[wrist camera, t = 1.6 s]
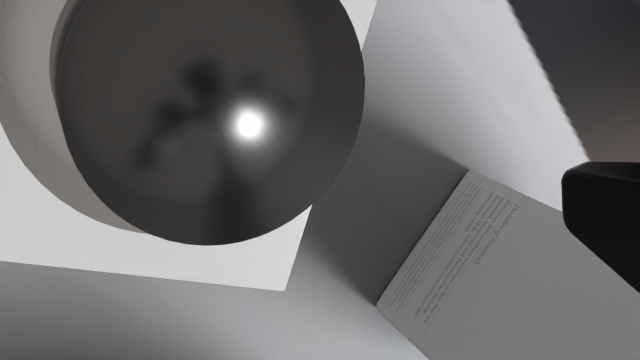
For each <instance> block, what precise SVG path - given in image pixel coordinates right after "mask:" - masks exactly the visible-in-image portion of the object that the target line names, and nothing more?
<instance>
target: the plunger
mask: <svg viewBox="0 0 640 360" xmlns="http://www.w3.org/2000/svg"><path fill="white" fill-rule="evenodd" d="M364 90H365V77H364V65H363V59H362V54H361V49H360V44H359V41H358V38H357V35H356V32H355V29H354V26H353V24H352V22H351V20H350V18H349V16H348V14H347V11H346V9H345V8H344V6H343V5H342V3H341V1H340V0H0V123H1V125H2V127H3V130H4V132H5V134H6V136H7V138H8V140H9V142H10V144H11V146H12V147H13V149H14V150H15V152H16V153H17V155H18V156H19V158H20V159H21V161H22V162H23V164H24V165H25V166H26V167H27V169H28V170H29V171H30V172H31V173H32V174H33V175H34V177H35V178H36V179H37V180H38V181H39V182H40V183H41V184H42V185H43V186H44V187H45V188H46V189H48V190H49V191H50V192H51V193H52V194H53V195H55V196H56V197H57V198H58V199H59V200H61V201H62V202H64V203H65V204H67V205H69V206H70V207H72V208H73V209H75V210H76V211H78V212H80V213H82V214H84V215H86V216H88V217H90V218H92V219H94V220H96V221H98V222H101V223H104V224H107V225H110V226H113V227H116V228H118V229H123V230H128V231H132V232H137V233H144V234H150V235H153V236H156V237H159V238H162V239H165V240H168V241H172V242H177V243H182V244H187V245H201V246H212V245H226V244H232V243H238V242H243V241H246V240H250V239H253V238H256V237H260V236H262V235H264V234H267V233H269V232H271V231H273V230H276V229H278V228H279V227H281V226H283V225H285V224H286V223H288V222H290V221H291V220H293V219H294V218H296V217H297V216H298V215H300V214H301V213H302V212H304V211H305V210H306V209H308V208H309V207H310V206H311V205H312V204H313V203H314V202H315V201H316V200H317V199H318V198H319V197H320V196H321V195H322V194H323V193H324V191H325V190H326V189H327V188H328V187H329V186H330V184H331V183H332V182H333V180H334V179H335V177H336V176H337V174H338V173H339V171H340V170H341V168H342V167H343V165H344V163H345V161H346V159H347V157H348V155H349V153H350V151H351V149H352V146H353V144H354V141H355V138H356V136H357V132H358V129H359V125H360V121H361V117H362V111H363V104H364Z"/></svg>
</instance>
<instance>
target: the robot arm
mask: <svg viewBox="0 0 640 360" xmlns="http://www.w3.org/2000/svg"><path fill="white" fill-rule="evenodd" d="M561 185H562V211H563V220H564V224H565V226H566V227H567V229H568V230H569V232H570V233H571V234H572V235H573V236H575V237H576V238H577V239H578V240H579V241H580V242H581V243H583V244H584V245H585V246H586V247H587V248H588V249H589V250H590V251H592V252H593V253H594V254H595V255H596V256H597V257H598V258H600V259H601V260H602V261H603V262H604V263H605V264H606V265H608V266H609V267H610V268H611V269H612V270H613V271H614V272H615V273H617V274H618V275H619V276H620V277H621V278H622V279H623V280H625V281H626V282H627V283H628V284H629V285H630V286H631V287H633V288H634V289H635V290H636V291H637V292H639V293H640V162H639V163H638V162H585V163H582V164H580V165H578V166H575V167H573V168H571V169H569V170H567V171H566V172H565V173H564V174H563V177H562V182H561Z"/></svg>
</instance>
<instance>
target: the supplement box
mask: <svg viewBox="0 0 640 360" xmlns="http://www.w3.org/2000/svg"><path fill="white" fill-rule="evenodd" d="M376 307H377V310H378V311H379V312H380V313H381V314H382V315H383V316H384V317H385V318H386V319H387V320H388V321H389V322H390V323H391V324H392V325H393V326H394V327H395V328H396V329H397V330H399V331H400V332H401V333H402V334H403V335H404V336H405V337H406V338H407V339H408V340H409V341H410V342H411V343H412V344H413V345H414V346H415V347H416V348H417V349H419V350H420V351H421V352H422V353H423V354H424V355H425V356H426V357H427V358H428V359H429V360H640V293H639V292H637V291H636V290H635V289H634V288H633V287H631V286H630V285H629V284H628V283H627V282H626V281H625V280H623V279H622V278H621V277H620V276H619V275H618V274H617V273H615V272H614V271H613V270H612V269H611V268H610V267H609V266H608V265H606V264H605V263H604V262H603V261H602V260H601V259H600V258H598V257H597V256H596V255H595V254H594V253H593V252H592V251H590V250H589V249H588V248H587V247H586V246H585V245H584V244H583V243H581V242H580V241H579V240H578V239H577V238H576V237H575V236H573V235H572V234H571V233H570V232H569V230H568V229H567V227H566V226H565V224H564V220H563V212H561V211H559V210H557V209H554V208H552V207H550V206H548V205H546V204H543V203H541V202H539V201H537V200H534V199H532V198H530V197H528V196H526V195H524V194H521V193H519V192H517V191H515V190H513V189H511V188H509V187H506V186H504V185H502V184H500V183H497V182H495V181H493V180H491V179H488V178H486V177H484V176H482V175H480V174H478V173H476V172H474V171H472V170H470V171H468V172H467V173H466V175H465V176H464V177H463V179H462V180H461V181H460V183H459V184H458V186H457V187H456V189H455V190H454V191H453V193H452V194H451V195H450V197H449V198H448V200H447V201H446V203H445V204H444V206H443V207H442V209H441V210H440V212H439V213H438V214H437V216H436V217H435V218H434V220H433V221H432V223H431V224H430V226H429V227H428V229H427V230H426V232H425V233H424V234H423V236H422V237H421V239H420V240H419V241H418V243H417V244H416V246H415V247H414V249H413V250H412V252H411V253H410V254H409V256H408V258H407V259H406V260H405V262H404V263H403V265H402V266H401V267H400V269H399V270H398V272H397V273H396V275H395V276H394V278H393V279H392V281H391V282H390V283H389V285H388V286H387V288H386V289H385V291H384V292H383V294H382V296H381V297H380V299H379V301H378V302H377V306H376Z"/></svg>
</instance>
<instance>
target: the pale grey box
mask: <svg viewBox="0 0 640 360" xmlns="http://www.w3.org/2000/svg"><path fill="white" fill-rule="evenodd" d="M340 1H341V3H342V5H343V6H344V8H345V9H346V11H347V14H348V16H349V18H350V20H351V22H352V24H353V26H354V29H355V32H356V35H357V38H358V41H359V44H360V49H361V50H362V47H363V44H364V41H365V38H366V35H367V32H368V29H369V25H370V22H371V19H372V16H373V13H374V10H375V7H376V4H377V0H340ZM311 207H312V205H311V206H310V207H309V208H308V209H306V210H305V211H304V212H302V213H301V214H300V215H298V216H297V217H296V218H294V219H293V220H291V221H290V222H288V223H286V224H285V225H283V226H281V227H279V228H278V229H276V230H273V231H271V232H269V233H267V234H264V235H262V236H260V237H256V238H253V239H250V240H246V241H243V242H238V243H232V244H226V245H212V246H201V245H187V244H182V243H177V242H172V241H168V240H165V239H162V238H159V237H156V236H153V235H150V234H144V233H137V232H132V231H128V230H123V229H118V228H116V227H113V226H110V225H107V224H104V223H101V222H98V221H96V220H94V219H92V218H90V217H88V216H86V215H84V214H82V213H80V212H78V211H76V210H75V209H73V208H72V207H70V206H69V205H67V204H65V203H64V202H62V201H61V200H59V199H58V198H57V197H56V196H55V195H53V194H52V193H51V192H50V191H49V190H48V189H46V188H45V187H44V186H43V185H42V184H41V183H40V182H39V181H38V180H37V179H36V178H35V177H34V175H33V174H32V173H31V172H30V171H29V170H28V169H27V167H26V166H25V165H24V164H23V162H22V161H21V159H20V158H19V156H18V155H17V153H16V152H15V150H14V149H13V147H12V146H11V144H10V142H9V140H8V138H7V136H6V134H5V132H4V130H3V127H2V125H1V123H0V261H8V262H17V263H26V264H35V265H45V266H54V267H63V268H73V269H82V270H91V271H101V272H110V273H119V274H128V275H138V276H147V277H156V278H166V279H175V280H184V281H194V282H203V283H212V284H222V285H231V286H240V287H249V288H259V289H268V290H277V291H285V288H286V285H287V282H288V278H289V275H290V272H291V269H292V266H293V263H294V260H295V257H296V253H297V250H298V247H299V244H300V241H301V238H302V235H303V232H304V228H305V225H306V222H307V219H308V216H309V213H310V210H311Z"/></svg>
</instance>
